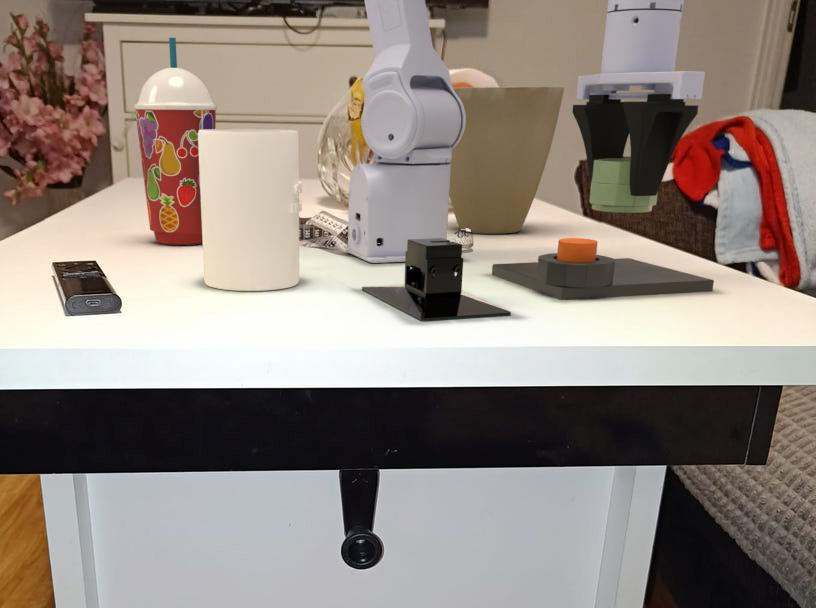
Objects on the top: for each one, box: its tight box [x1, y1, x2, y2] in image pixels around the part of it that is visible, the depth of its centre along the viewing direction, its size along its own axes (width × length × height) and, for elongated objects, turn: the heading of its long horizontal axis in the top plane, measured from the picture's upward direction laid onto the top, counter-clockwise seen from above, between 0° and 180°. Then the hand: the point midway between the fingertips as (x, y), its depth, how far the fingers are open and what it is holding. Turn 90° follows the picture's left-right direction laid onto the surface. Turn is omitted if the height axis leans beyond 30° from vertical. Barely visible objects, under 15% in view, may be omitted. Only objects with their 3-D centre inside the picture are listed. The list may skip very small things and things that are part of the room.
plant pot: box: [447, 86, 565, 235], centre depth 109 cm, size 15×15×16 cm
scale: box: [491, 252, 715, 301], centre depth 78 cm, size 14×12×3 cm
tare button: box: [556, 237, 599, 262], centre depth 74 cm, size 3×3×2 cm
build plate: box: [361, 238, 512, 323], centre depth 70 cm, size 12×7×5 cm, turn 18°
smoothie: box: [133, 37, 218, 246], centre depth 97 cm, size 8×8×20 cm
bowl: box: [588, 157, 659, 214], centre depth 78 cm, size 5×5×4 cm
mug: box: [198, 128, 303, 292], centre depth 78 cm, size 8×12×12 cm
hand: (622, 192), depth 79 cm, fingers closed on bowl, 5 cm apart
